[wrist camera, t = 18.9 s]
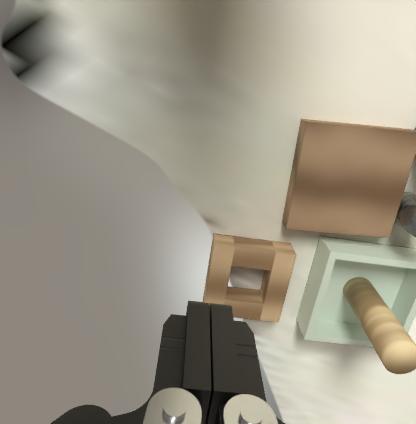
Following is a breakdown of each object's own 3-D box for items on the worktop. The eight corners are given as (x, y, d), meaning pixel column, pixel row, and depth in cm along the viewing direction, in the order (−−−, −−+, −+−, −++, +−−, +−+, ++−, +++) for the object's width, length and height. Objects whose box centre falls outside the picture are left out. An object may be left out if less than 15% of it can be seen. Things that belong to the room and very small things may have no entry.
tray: (320, 236, 36) (330, 251, 33) (417, 249, 36) (437, 265, 33) (296, 319, 40) (304, 339, 37) (385, 329, 40) (400, 350, 37)
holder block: (213, 233, 36) (214, 244, 33) (290, 243, 36) (296, 255, 34) (203, 299, 39) (202, 313, 36) (274, 307, 39) (278, 322, 37)
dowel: (345, 276, 37) (387, 343, 28) (374, 277, 37) (426, 345, 28) (341, 300, 38) (379, 373, 29) (369, 301, 38) (417, 374, 29)
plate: (299, 118, 32) (307, 121, 30) (406, 128, 32) (422, 132, 30) (281, 218, 36) (286, 229, 33) (377, 227, 36) (389, 237, 34)
